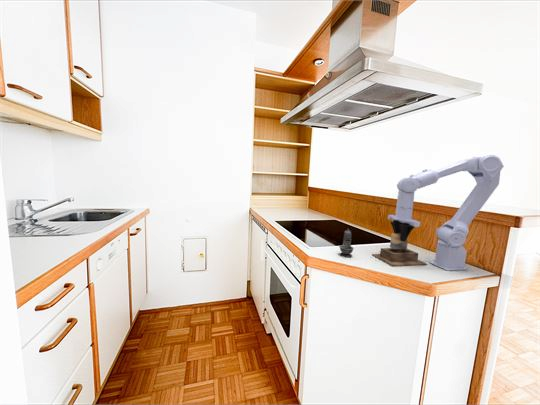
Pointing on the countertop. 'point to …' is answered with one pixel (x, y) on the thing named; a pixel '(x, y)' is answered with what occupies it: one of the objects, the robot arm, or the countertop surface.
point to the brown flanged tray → (399, 257)
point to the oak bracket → (397, 241)
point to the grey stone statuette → (346, 245)
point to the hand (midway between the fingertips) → (400, 239)
